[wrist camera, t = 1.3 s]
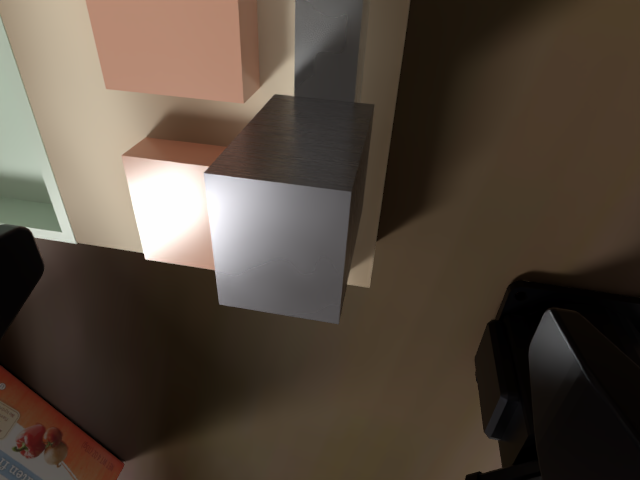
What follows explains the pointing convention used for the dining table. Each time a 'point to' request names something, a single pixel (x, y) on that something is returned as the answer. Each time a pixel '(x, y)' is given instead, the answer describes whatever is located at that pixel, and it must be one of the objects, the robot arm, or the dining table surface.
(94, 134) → the board
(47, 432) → the cracker box
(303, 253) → the scraper
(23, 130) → the tray
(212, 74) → the tile
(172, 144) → the tile
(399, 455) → the dining table surface
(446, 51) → the dining table surface
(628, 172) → the dining table surface
